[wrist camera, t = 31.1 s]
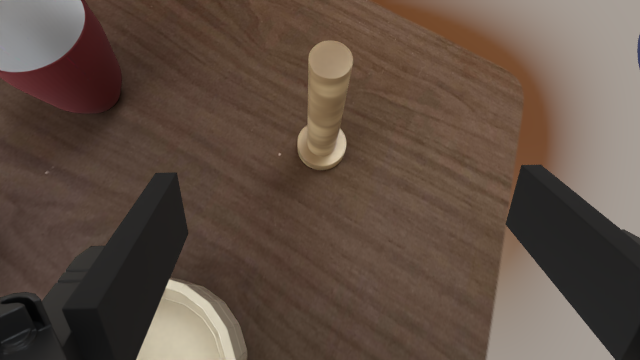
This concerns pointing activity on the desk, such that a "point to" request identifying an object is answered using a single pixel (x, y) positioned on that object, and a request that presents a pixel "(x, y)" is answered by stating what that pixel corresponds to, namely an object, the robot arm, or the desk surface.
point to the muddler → (325, 105)
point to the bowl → (192, 327)
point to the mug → (58, 54)
